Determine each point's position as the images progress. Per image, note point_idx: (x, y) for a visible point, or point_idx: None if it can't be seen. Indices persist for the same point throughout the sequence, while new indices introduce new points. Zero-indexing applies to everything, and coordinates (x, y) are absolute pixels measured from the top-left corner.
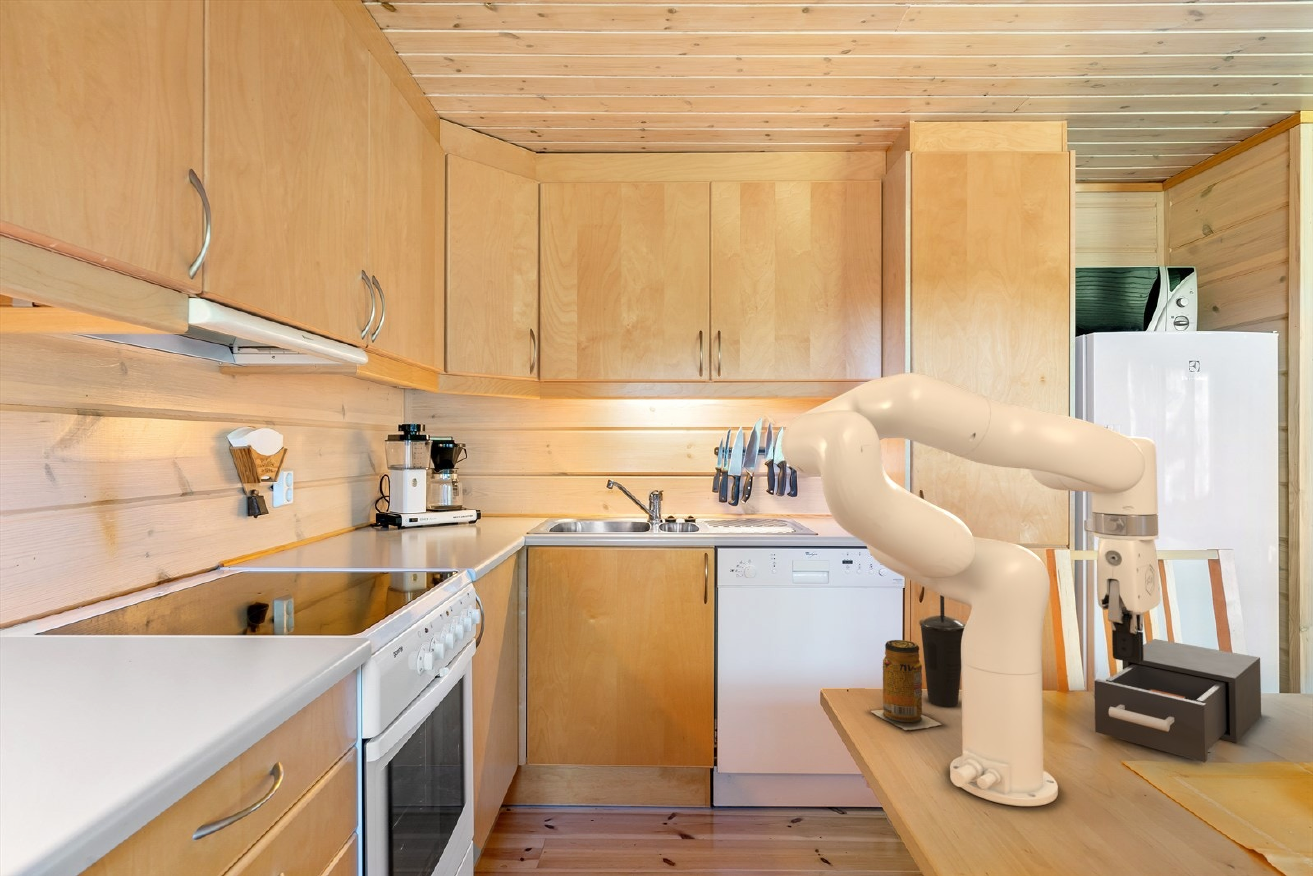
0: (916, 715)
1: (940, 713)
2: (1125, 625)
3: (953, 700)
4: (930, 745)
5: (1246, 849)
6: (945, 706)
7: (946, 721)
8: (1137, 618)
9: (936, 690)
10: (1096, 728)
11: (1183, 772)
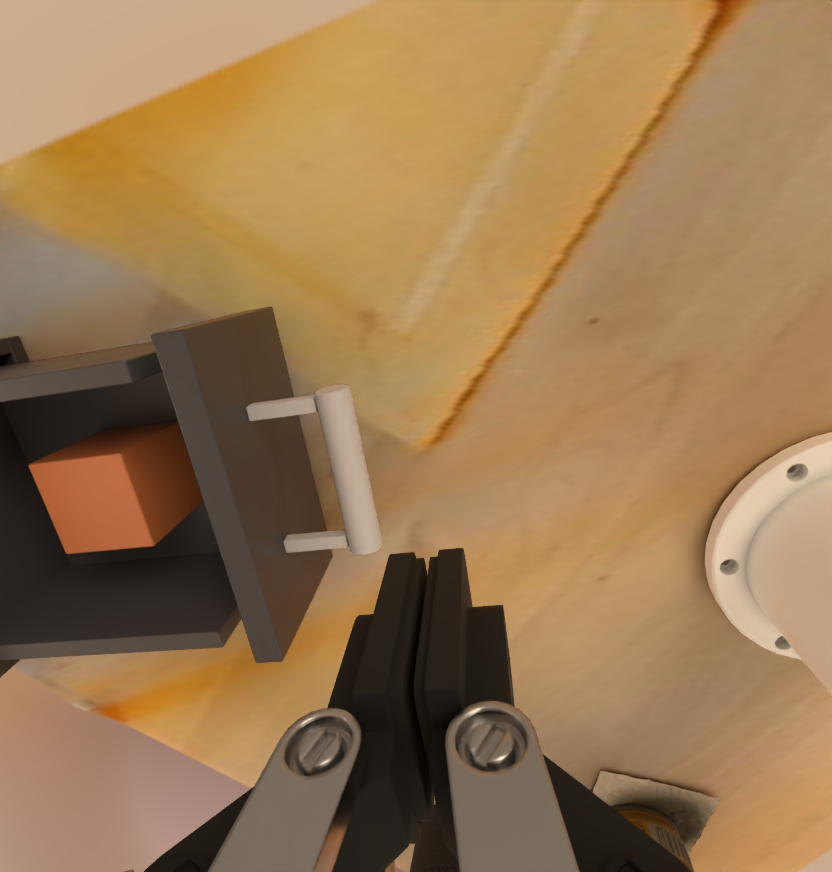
0: (647, 823)
1: None
2: (637, 834)
3: None
4: (744, 731)
5: (730, 4)
6: None
7: None
8: (327, 852)
9: None
10: (329, 559)
11: (349, 329)
